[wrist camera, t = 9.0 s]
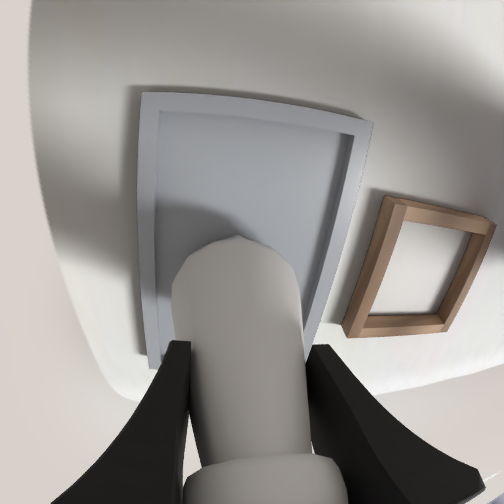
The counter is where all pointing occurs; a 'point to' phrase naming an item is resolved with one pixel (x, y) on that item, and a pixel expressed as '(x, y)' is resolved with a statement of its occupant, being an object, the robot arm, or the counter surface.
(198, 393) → the salt shaker
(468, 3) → the counter surface
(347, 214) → the grey tray
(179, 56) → the counter surface
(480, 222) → the walnut collar
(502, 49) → the counter surface
